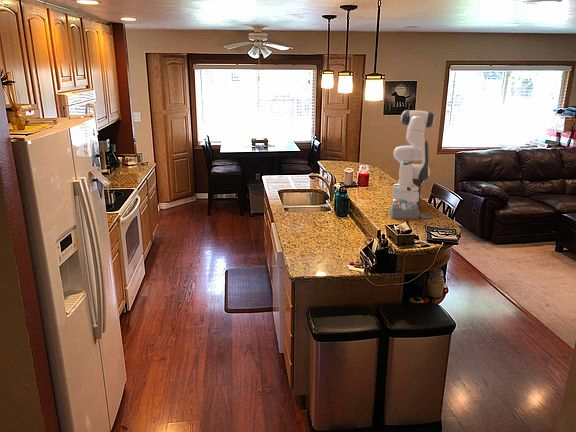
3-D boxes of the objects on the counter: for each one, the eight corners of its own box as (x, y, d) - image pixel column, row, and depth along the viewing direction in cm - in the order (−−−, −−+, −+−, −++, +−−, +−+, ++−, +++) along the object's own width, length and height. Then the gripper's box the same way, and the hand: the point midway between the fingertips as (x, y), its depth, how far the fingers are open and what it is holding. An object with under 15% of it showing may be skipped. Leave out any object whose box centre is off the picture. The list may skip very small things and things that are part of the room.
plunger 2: (410, 207, 301) (410, 198, 299) (415, 207, 301) (416, 198, 299) (411, 208, 298) (411, 200, 296) (416, 208, 297) (417, 200, 296)
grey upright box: (420, 210, 313) (422, 174, 306) (407, 210, 314) (409, 174, 307) (417, 203, 331) (419, 169, 324) (405, 202, 332) (407, 168, 325)
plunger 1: (391, 207, 301) (392, 199, 300) (397, 207, 301) (397, 198, 300) (392, 209, 298) (393, 200, 296) (398, 209, 298) (398, 200, 296)
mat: (417, 215, 302) (417, 214, 301) (429, 215, 301) (429, 214, 301) (420, 219, 294) (420, 218, 294) (432, 219, 294) (432, 218, 294)
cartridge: (398, 215, 302) (399, 200, 299) (403, 214, 304) (404, 199, 301) (403, 217, 298) (404, 201, 295) (408, 215, 300) (409, 200, 297)
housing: (389, 214, 306) (389, 203, 304) (415, 213, 305) (415, 202, 303) (392, 218, 296) (392, 207, 294) (418, 218, 296) (419, 207, 294)
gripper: (390, 183, 302) (389, 204, 306) (414, 189, 285) (412, 210, 289) (397, 182, 305) (396, 202, 309) (421, 188, 289) (419, 209, 293)
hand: (404, 206), depth 299 cm, fingers closed on cartridge, 4 cm apart
